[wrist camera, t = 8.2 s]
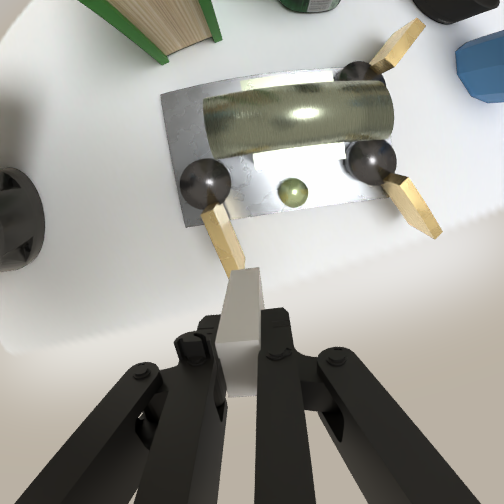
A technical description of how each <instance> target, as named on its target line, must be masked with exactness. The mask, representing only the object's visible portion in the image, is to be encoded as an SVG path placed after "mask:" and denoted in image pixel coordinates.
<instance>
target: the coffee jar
mask: <svg viewBox="0 0 504 504" xmlns="http://www.w3.org/2000/svg"><path fill="white" fill-rule="evenodd" d="M280 1H281V3H282V4H283V5H284V6H286V7H287V8H289V9H291V10H294V11H298V12H322V11H328V10H331V9H333V8H335V7H336V6H337V5H338V4H339V2H340V1H341V0H280Z"/></svg>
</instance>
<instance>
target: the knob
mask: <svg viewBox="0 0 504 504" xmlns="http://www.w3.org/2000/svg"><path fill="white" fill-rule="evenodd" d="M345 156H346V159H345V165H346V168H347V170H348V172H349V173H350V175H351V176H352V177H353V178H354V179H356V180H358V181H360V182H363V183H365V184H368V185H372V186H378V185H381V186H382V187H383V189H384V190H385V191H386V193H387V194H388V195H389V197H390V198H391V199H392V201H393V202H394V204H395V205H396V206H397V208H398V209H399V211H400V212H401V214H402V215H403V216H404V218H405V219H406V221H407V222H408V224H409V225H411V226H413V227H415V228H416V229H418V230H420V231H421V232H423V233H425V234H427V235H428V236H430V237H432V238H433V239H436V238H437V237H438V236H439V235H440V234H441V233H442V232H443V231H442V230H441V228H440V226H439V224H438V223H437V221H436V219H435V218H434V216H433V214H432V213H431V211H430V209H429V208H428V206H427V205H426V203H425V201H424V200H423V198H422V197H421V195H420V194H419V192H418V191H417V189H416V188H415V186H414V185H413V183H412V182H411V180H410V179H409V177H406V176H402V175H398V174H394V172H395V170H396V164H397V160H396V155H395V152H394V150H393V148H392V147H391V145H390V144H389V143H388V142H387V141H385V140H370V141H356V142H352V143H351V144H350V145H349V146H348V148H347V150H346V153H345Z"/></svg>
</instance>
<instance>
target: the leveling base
mask: <svg viewBox="0 0 504 504" xmlns="http://www.w3.org/2000/svg"><path fill="white" fill-rule="evenodd" d="M342 69H343V68H322V69H306V70H294V71H283V72H274V73H266V74H258V75H251V76H245V77H239V78H233V79H227V80H221V81H216V82H211V83H206V84H202V85H197V86H193V87H188V88H184V89H180V90H176V91H172V92H168V93H164V94H161V102H162V108H163V114H164V120H165V126H166V132H167V137H168V143H169V148H170V154H171V159H172V164H173V169H174V174H175V179H176V184H177V189H178V194H179V199H180V204H181V208H182V213H183V218H184V222H185V227H186V228H187V227H193V226H198V225H204V222H203V220H202V217H201V213H202V212H203V211H204V210H200V209H197V208H194V207H192V206H191V205H189V204H188V203H187V202H186V201H185V200H184V198H183V196H182V194H181V191H180V178H181V175H182V173H183V171H184V169H185V168H186V167H187V166H188V165H189V164H191V163H192V162H194V161H196V160H200V159H204V158H213V159H215V160H219V161H221V162H223V163H224V164H225V165H226V166H227V167H228V169H229V170H230V172H231V175H232V188H231V191H230V193H229V195H228V197H227V199H226V200H225V201H224V202H223V205H224V208H225V210H226V213H227V215H228V217H229V220H234V219H240V218H246V217H252V216H259V215H265V214H271V213H278V212H285V211H291V210H298V209H305V208H312V207H319V206H326V205H334V204H341V203H349V202H357V201H364V200H372V199H381V198H389V195H388V194H387V193H386V191H385V190H384V189H383V187H382V186H381V185H378V186H372V185H368V184H365V183H363V182H360V181H358V180H356V179H354V178H353V177H352V176H351V175H350V173H349V172H348V170H347V168H346V165H345V159H346V156H345V153H346V150H347V148H348V146H349V145H350V144H351V143H352V142H356V141H370V140H385V141H387V142H388V143H389V144H390V145H391V147H392V141H391V133H392V130H393V125H394V109H393V103H392V99H391V96H390V94H389V91H388V89H387V88H386V86H385V85H384V84H383V83H382V82H380V81H334V79H335V76H336V75H337V73H338V72H339V71H341V70H342ZM394 174H395V172H394Z"/></svg>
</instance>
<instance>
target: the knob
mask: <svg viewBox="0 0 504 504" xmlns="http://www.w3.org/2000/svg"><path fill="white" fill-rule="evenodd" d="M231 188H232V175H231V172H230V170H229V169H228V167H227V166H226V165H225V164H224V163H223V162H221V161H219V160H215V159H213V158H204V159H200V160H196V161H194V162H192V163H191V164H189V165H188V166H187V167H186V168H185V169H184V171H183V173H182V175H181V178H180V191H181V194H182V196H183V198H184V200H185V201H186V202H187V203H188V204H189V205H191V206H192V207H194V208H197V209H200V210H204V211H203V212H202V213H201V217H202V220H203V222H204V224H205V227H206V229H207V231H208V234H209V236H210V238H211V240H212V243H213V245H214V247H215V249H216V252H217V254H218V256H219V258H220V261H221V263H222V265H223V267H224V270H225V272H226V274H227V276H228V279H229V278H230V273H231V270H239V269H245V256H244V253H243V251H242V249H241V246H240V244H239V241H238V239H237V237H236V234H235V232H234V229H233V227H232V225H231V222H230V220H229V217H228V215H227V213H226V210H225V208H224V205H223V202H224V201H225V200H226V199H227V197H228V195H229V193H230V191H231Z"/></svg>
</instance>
